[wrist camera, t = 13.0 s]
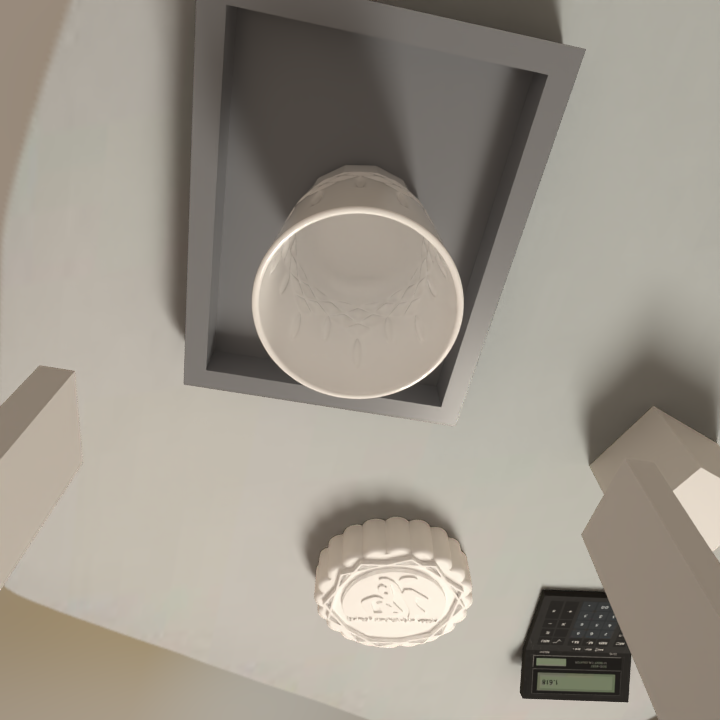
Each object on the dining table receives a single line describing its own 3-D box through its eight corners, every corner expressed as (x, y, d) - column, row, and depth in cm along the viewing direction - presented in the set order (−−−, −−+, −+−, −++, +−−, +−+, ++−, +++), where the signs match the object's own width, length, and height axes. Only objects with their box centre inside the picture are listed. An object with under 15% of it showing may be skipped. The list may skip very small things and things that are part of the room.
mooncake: (477, 516, 42) (486, 555, 39) (457, 616, 48) (463, 656, 45) (316, 511, 41) (312, 550, 38) (316, 613, 48) (313, 653, 45)
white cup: (368, 323, 32) (370, 431, 24) (255, 239, 30) (210, 324, 21) (465, 219, 29) (508, 300, 20) (348, 115, 27) (341, 156, 18)
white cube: (650, 497, 40) (692, 566, 35) (588, 464, 39) (622, 532, 34) (716, 441, 38) (772, 507, 33) (652, 404, 36) (701, 467, 31)
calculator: (654, 591, 46) (671, 624, 43) (613, 671, 52) (626, 704, 49) (541, 586, 46) (552, 620, 43) (514, 667, 52) (521, 700, 49)
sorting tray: (214, -32, 24) (197, -39, 22) (563, 46, 26) (585, 49, 23) (197, 357, 34) (183, 384, 32) (448, 397, 36) (455, 426, 33)
